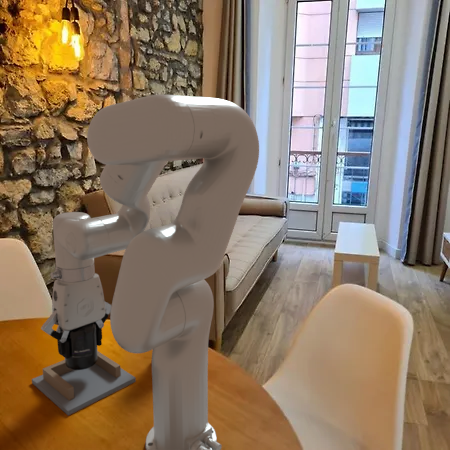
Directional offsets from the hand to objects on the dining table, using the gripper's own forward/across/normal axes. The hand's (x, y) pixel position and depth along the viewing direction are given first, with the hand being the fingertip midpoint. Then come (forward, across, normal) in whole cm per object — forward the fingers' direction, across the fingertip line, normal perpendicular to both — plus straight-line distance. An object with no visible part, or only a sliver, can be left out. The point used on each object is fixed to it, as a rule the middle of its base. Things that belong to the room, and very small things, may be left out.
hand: (81, 349), depth 95 cm
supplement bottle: (+3, 0, 0) cm, 3 cm away
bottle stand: (+8, 0, 0) cm, 8 cm away
